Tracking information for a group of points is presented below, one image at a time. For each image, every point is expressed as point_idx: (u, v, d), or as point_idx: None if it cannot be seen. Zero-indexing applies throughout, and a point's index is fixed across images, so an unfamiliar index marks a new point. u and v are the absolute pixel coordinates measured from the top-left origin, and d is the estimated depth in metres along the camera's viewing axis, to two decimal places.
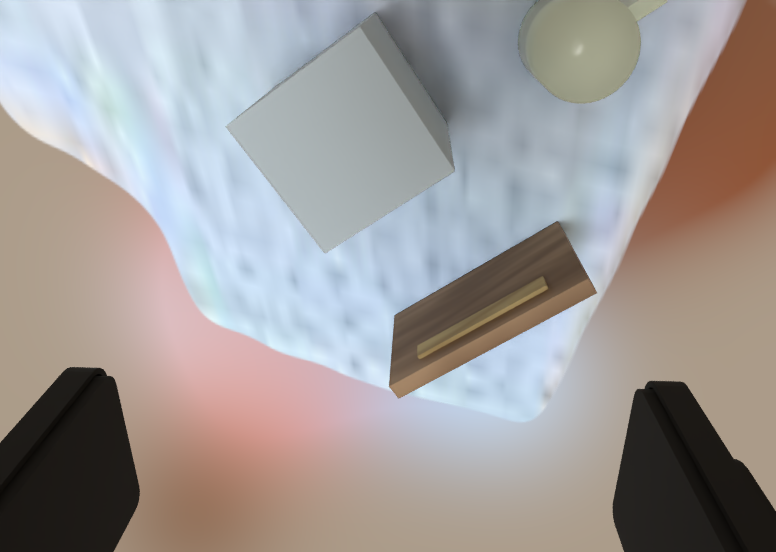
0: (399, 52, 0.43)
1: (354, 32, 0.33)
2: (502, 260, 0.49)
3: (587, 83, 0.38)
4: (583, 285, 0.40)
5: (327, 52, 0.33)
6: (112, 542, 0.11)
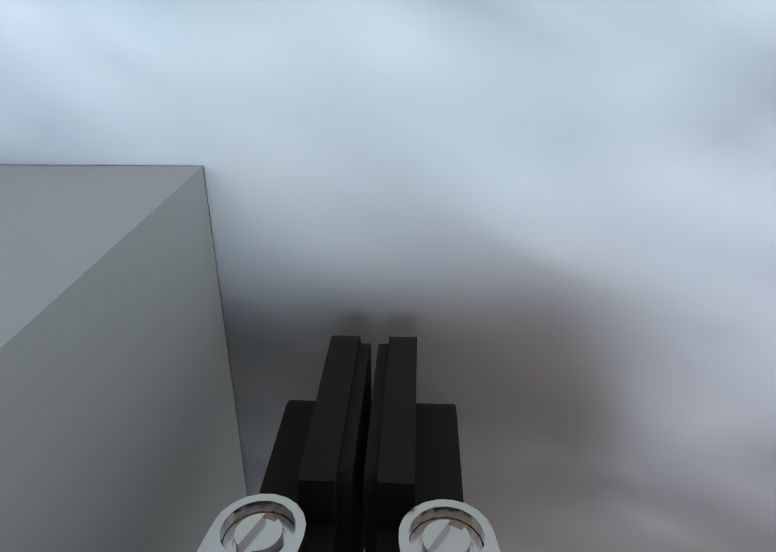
0: None
1: None
2: None
3: None
4: None
5: None
6: None
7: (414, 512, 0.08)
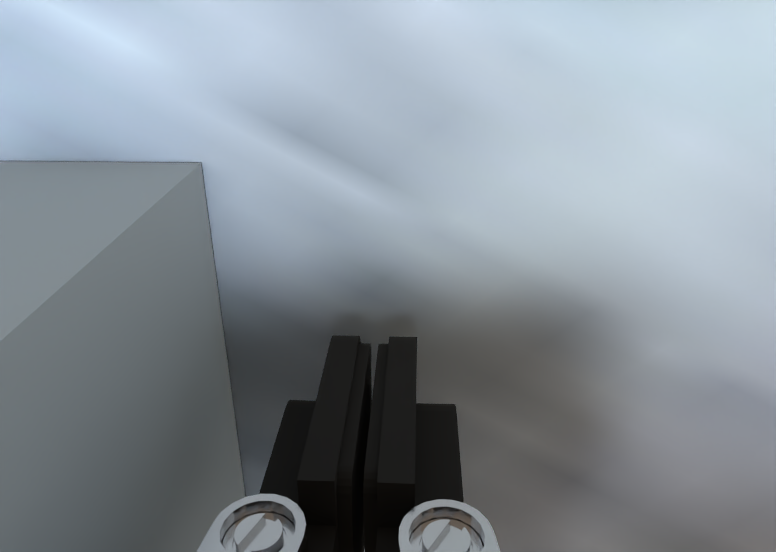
0: None
1: None
2: None
3: None
4: None
5: None
6: None
7: (414, 512, 0.08)
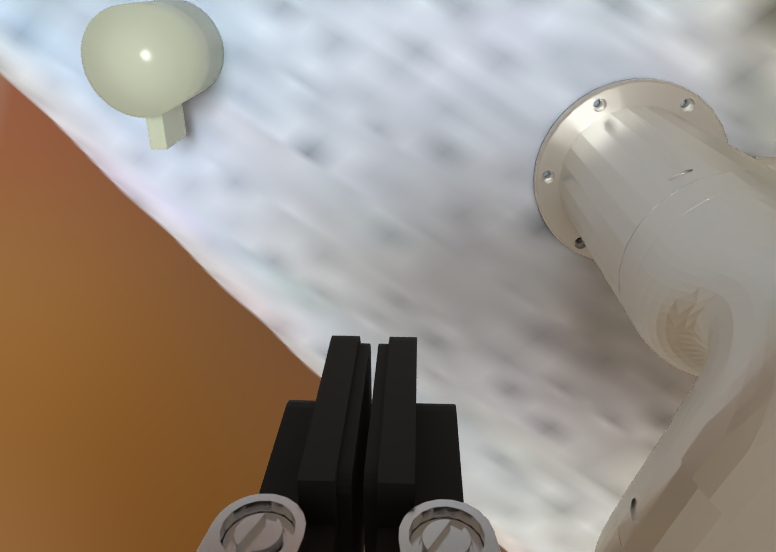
0: None
1: None
2: None
3: (102, 47, 0.35)
4: None
5: None
6: None
7: (414, 512, 0.08)
